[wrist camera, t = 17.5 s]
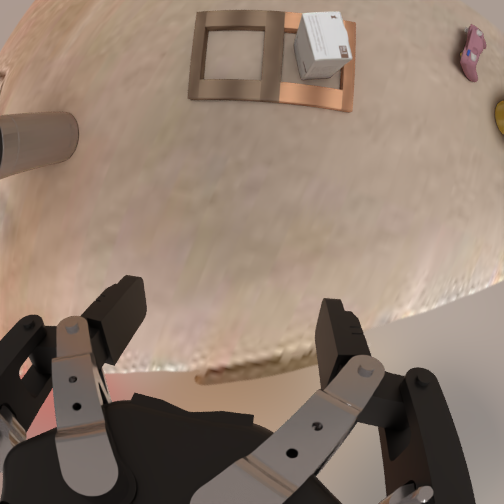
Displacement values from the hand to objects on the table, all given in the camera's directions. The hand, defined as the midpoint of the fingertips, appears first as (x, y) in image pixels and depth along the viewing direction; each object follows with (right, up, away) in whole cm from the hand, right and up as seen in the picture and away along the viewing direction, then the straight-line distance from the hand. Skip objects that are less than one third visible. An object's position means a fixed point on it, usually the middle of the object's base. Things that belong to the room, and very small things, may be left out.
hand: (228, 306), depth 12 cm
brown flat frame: (+4, +29, +20) cm, 36 cm away
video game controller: (+36, +35, +15) cm, 53 cm away
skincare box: (+9, +29, +20) cm, 36 cm away
